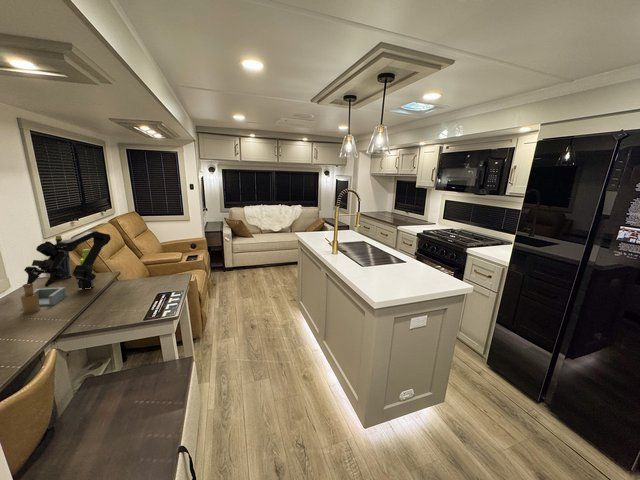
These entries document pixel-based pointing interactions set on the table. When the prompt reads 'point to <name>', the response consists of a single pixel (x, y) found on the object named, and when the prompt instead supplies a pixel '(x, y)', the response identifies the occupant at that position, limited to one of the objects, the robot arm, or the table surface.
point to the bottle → (66, 261)
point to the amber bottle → (30, 300)
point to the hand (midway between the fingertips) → (36, 286)
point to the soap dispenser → (84, 256)
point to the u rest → (50, 295)
